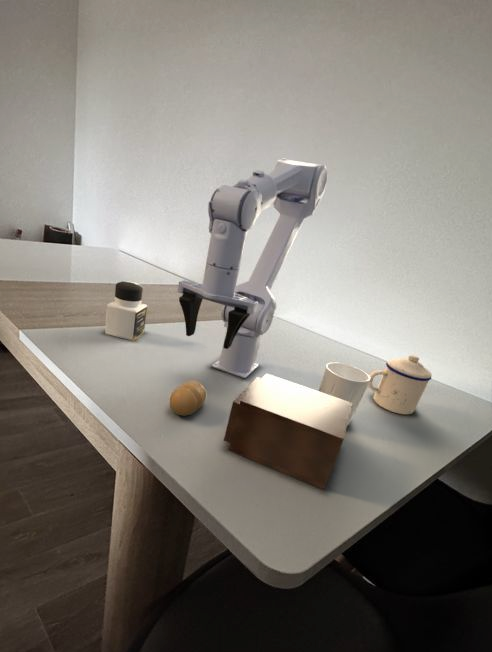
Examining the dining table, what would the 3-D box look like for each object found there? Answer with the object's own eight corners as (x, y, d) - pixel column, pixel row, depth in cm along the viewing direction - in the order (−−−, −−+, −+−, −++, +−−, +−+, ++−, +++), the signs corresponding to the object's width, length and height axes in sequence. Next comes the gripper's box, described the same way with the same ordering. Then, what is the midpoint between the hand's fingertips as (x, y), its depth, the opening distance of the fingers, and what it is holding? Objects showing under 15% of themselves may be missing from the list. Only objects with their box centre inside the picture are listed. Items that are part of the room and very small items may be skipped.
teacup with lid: (403, 398, 90) (424, 352, 85) (422, 418, 82) (446, 368, 77) (354, 389, 89) (372, 342, 84) (367, 409, 81) (389, 358, 76)
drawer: (216, 437, 59) (225, 398, 56) (241, 408, 69) (250, 374, 66) (310, 476, 55) (325, 436, 52) (323, 439, 65) (336, 404, 62)
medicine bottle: (133, 341, 90) (138, 289, 85) (104, 333, 91) (107, 282, 86) (144, 332, 97) (149, 284, 91) (117, 325, 97) (121, 277, 92)
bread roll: (191, 404, 71) (182, 379, 70) (214, 400, 69) (205, 374, 67) (169, 422, 64) (160, 394, 63) (194, 418, 62) (185, 390, 61)
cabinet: (228, 450, 59) (240, 400, 55) (254, 416, 69) (266, 373, 66) (323, 490, 54) (343, 439, 51) (335, 447, 65) (353, 403, 61)
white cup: (351, 416, 77) (370, 370, 72) (351, 435, 70) (371, 386, 65) (312, 404, 78) (327, 358, 74) (307, 421, 71) (324, 372, 67)
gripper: (174, 256, 65) (163, 334, 71) (255, 278, 61) (236, 359, 66) (193, 254, 71) (181, 326, 77) (268, 274, 67) (250, 348, 72)
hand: (208, 340), depth 72 cm, fingers open, 7 cm apart
